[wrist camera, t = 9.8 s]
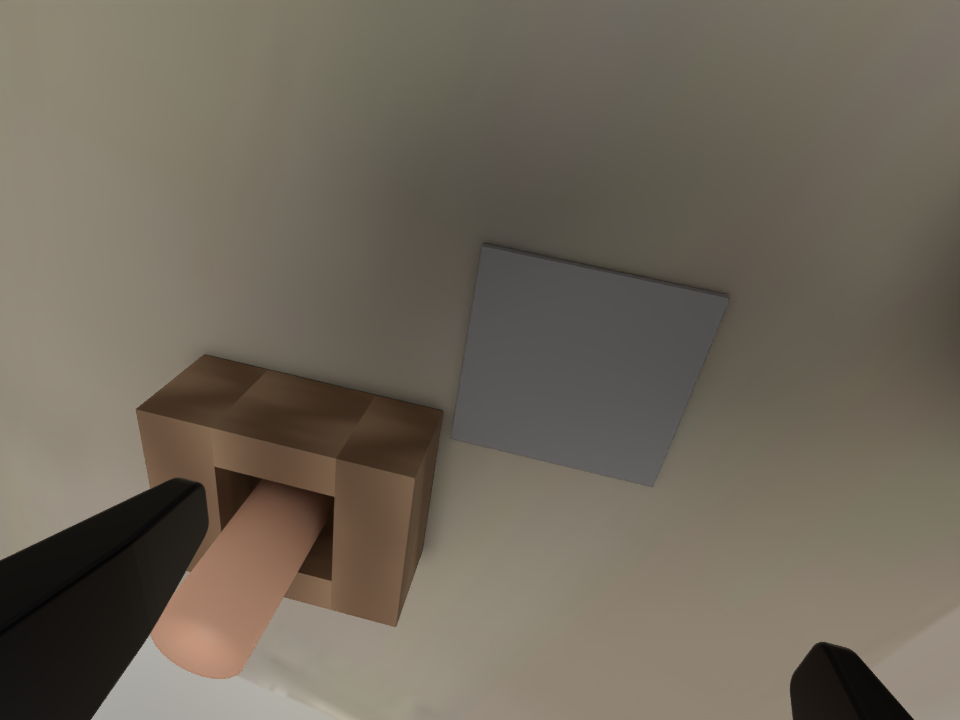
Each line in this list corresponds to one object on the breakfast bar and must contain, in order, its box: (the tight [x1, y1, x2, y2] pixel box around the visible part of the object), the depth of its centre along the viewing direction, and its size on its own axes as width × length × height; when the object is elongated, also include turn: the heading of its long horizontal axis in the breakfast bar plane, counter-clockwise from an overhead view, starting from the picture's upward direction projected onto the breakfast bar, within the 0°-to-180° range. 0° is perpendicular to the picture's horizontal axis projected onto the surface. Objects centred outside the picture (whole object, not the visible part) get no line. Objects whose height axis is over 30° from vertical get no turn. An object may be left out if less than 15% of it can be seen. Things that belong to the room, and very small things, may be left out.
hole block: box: [136, 355, 443, 627], centre depth 23 cm, size 10×8×4 cm
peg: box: [151, 479, 335, 679], centre depth 21 cm, size 3×3×9 cm
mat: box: [451, 243, 730, 487], centre depth 21 cm, size 8×8×1 cm
